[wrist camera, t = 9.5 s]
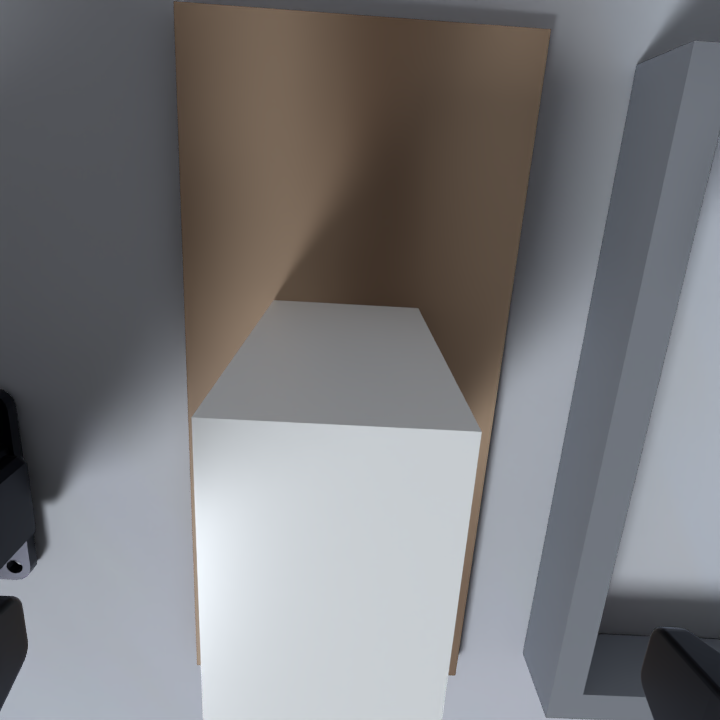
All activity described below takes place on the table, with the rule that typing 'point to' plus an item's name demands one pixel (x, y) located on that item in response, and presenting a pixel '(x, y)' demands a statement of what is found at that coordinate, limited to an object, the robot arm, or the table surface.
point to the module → (331, 518)
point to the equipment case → (622, 386)
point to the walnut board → (354, 184)
